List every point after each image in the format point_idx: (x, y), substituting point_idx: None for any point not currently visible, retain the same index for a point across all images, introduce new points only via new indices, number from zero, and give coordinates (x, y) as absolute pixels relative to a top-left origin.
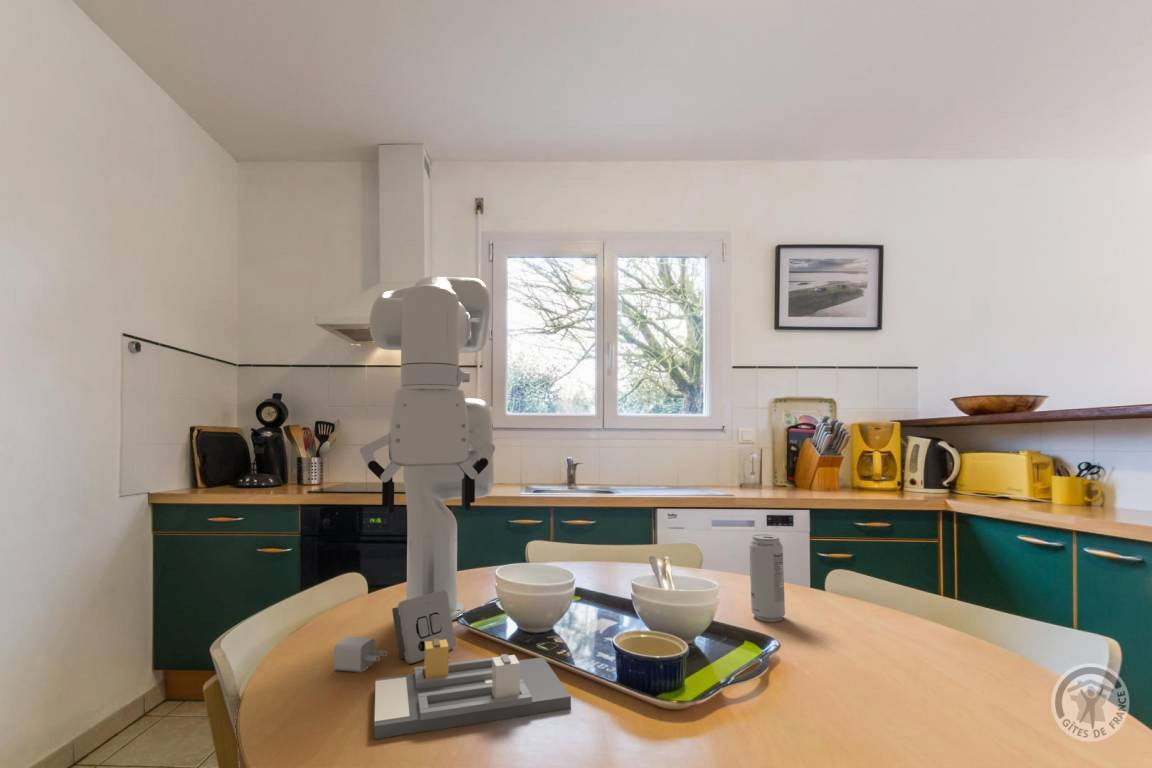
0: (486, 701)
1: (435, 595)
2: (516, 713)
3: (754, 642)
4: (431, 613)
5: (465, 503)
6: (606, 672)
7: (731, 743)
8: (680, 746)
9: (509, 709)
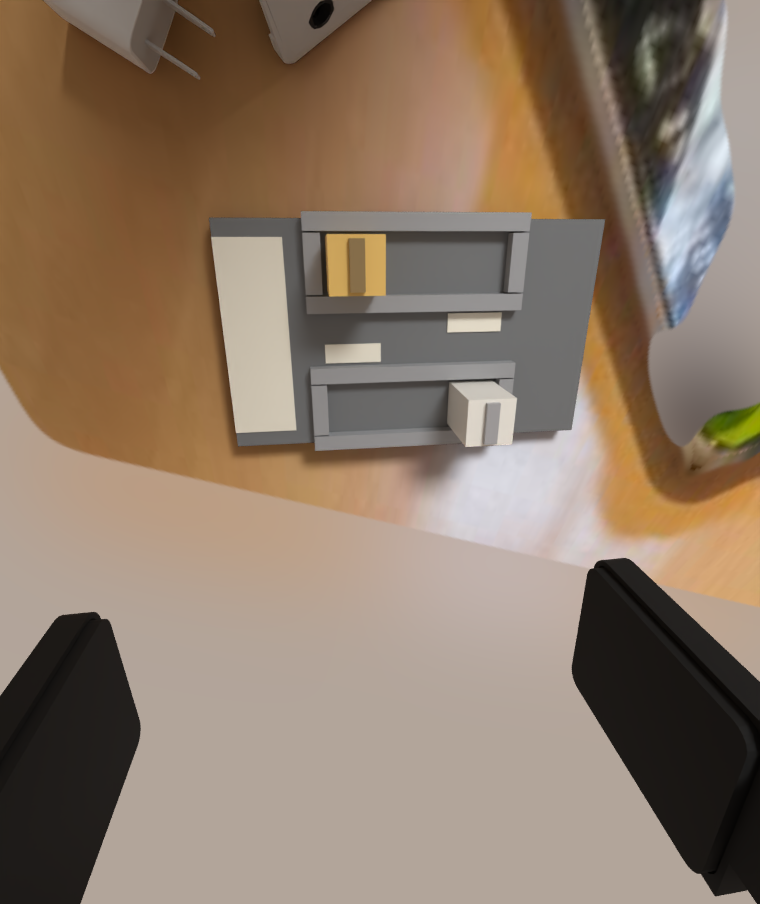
0: (430, 437)
1: None
2: None
3: None
4: None
5: (591, 706)
6: (690, 295)
7: (692, 560)
8: (636, 553)
9: None
